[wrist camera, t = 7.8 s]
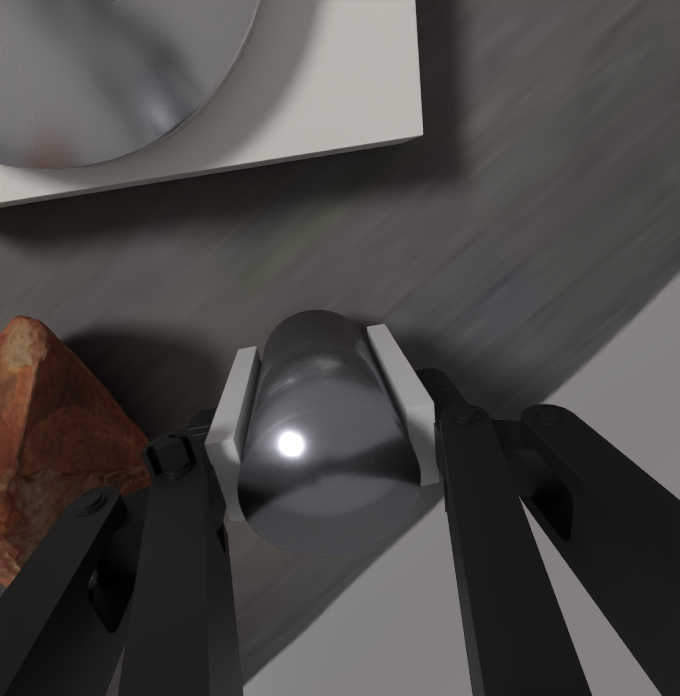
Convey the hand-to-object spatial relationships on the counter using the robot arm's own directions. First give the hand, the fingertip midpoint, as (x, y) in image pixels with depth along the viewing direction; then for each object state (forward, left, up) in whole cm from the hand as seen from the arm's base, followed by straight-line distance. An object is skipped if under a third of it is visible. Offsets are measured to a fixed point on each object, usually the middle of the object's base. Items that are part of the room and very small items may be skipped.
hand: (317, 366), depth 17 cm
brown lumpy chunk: (-12, -2, -3) cm, 12 cm away
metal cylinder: (0, 0, -1) cm, 1 cm away
